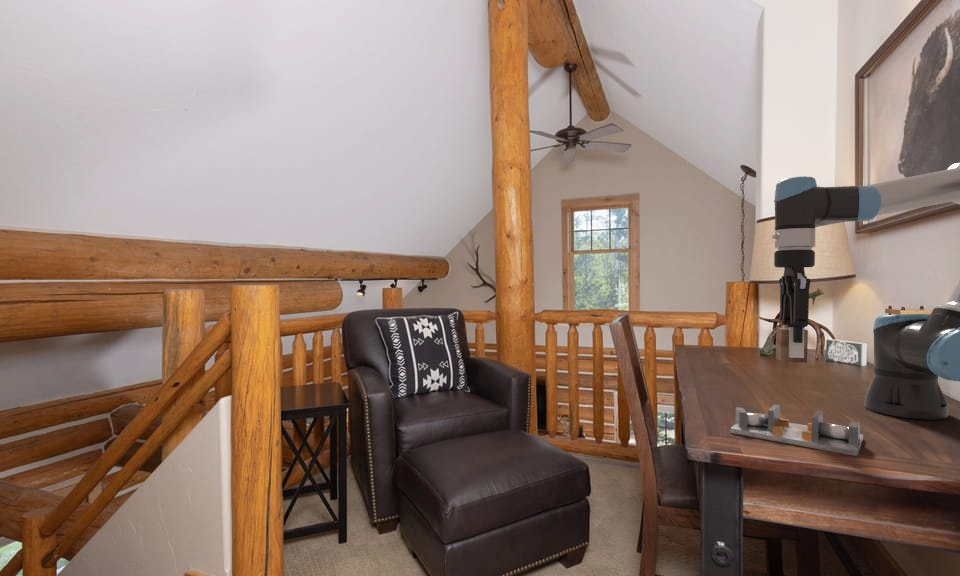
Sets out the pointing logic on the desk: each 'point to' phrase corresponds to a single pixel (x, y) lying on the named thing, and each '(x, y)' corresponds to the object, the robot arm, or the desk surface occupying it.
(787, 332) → the block
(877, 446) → the desk surface
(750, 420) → the shaft
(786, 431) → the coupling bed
